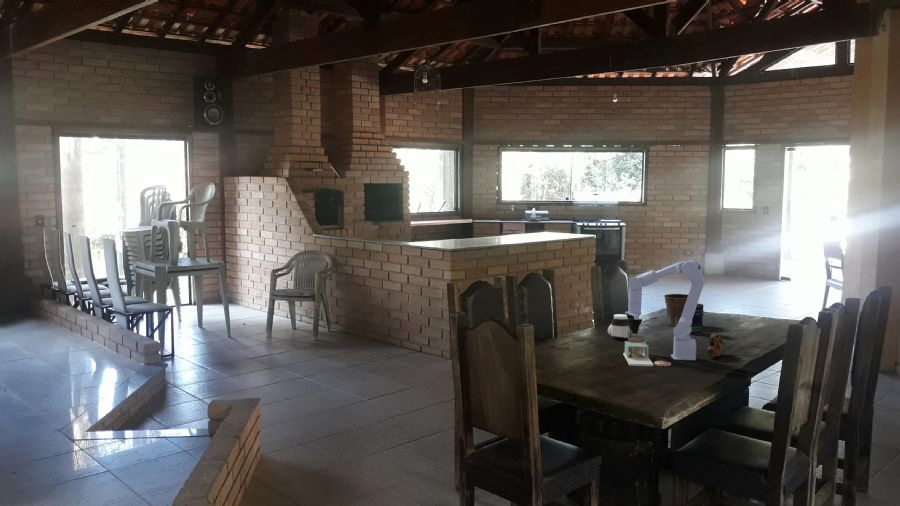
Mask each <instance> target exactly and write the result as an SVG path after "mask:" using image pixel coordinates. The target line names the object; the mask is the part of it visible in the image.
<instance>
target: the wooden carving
mask: <svg viewBox="0 0 900 506" xmlns="http://www.w3.org/2000/svg"><path fill="white" fill-rule="evenodd" d="M708 343H709V346H707V354H708V358H715V357H720V356H721V355H722V353H723V351H724V347H723V345H724V343H725V342H724V341H723V338H722V336H721V334H719V333H718V334H716V333H715V334H711V335H710V337H708Z"/></svg>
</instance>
